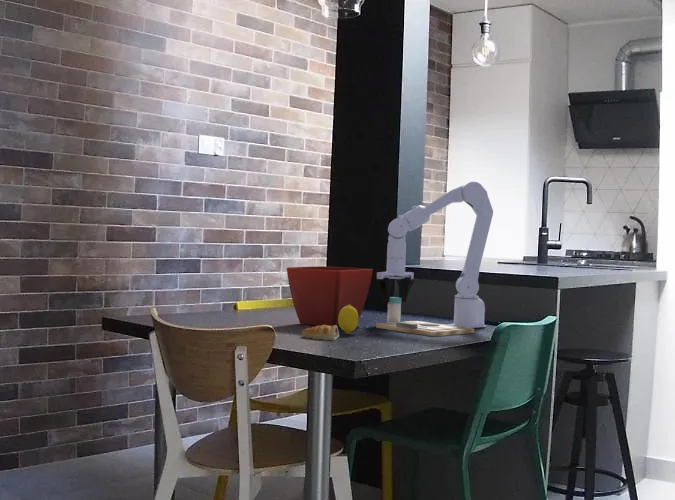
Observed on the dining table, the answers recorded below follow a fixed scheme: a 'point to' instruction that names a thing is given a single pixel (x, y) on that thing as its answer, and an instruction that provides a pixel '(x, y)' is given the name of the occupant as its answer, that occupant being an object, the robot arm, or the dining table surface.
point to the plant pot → (327, 292)
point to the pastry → (322, 332)
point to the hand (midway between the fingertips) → (394, 302)
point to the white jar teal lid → (394, 309)
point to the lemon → (348, 318)
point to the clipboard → (425, 328)
